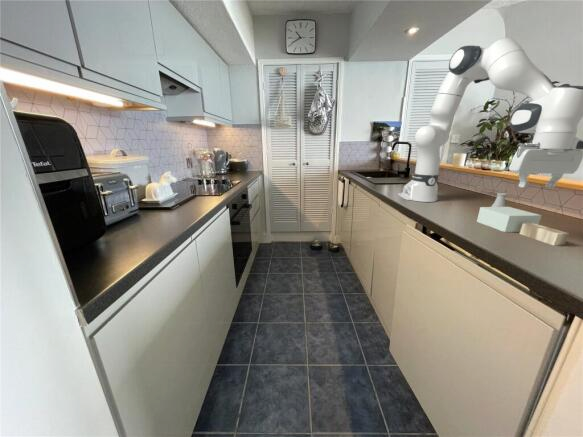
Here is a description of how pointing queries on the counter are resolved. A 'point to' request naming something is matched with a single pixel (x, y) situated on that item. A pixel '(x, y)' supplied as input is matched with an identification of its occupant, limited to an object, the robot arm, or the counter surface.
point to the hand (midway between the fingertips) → (536, 187)
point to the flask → (499, 200)
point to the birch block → (544, 234)
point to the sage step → (506, 218)
